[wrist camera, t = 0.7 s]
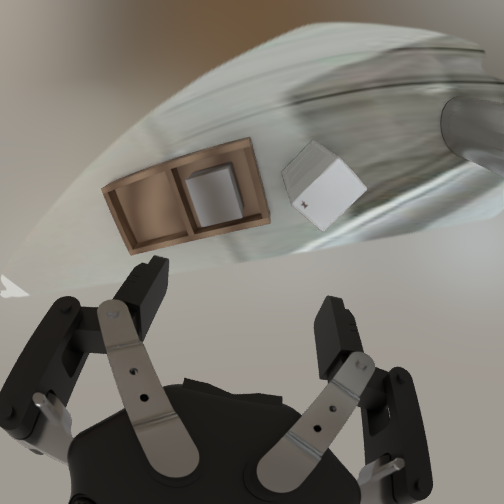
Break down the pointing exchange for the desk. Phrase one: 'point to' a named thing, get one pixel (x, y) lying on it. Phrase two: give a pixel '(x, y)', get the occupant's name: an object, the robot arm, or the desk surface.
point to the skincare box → (321, 185)
